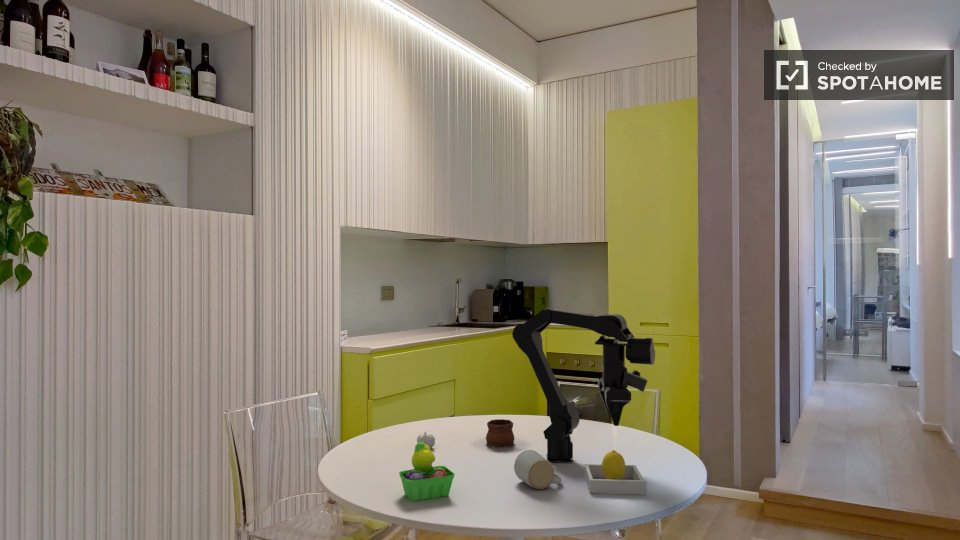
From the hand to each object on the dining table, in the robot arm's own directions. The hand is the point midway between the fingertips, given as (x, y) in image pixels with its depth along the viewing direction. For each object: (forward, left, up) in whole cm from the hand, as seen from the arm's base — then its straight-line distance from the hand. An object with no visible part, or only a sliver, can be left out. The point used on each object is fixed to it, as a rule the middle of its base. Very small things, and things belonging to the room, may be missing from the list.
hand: (613, 421), depth 164 cm
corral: (-2, -14, -12) cm, 19 cm away
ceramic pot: (-31, +21, -13) cm, 39 cm away
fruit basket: (-46, -24, -12) cm, 53 cm away
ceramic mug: (-20, -15, -12) cm, 28 cm away
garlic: (-52, +14, -12) cm, 55 cm away
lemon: (-2, -14, -12) cm, 18 cm away
